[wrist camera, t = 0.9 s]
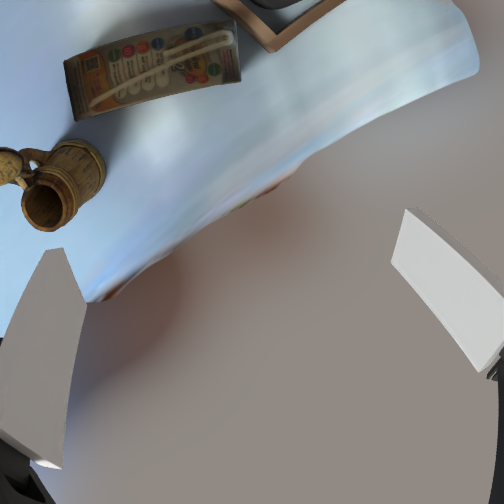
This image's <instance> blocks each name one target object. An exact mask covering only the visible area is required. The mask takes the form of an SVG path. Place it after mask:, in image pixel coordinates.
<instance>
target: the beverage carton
mask: <svg viewBox="0 0 504 504" xmlns="http://www.w3.org/2000/svg"><path fill="white" fill-rule="evenodd" d="M63 65H64V70H65V77H66V83H67V88H68V93H69V97H70V101H71V106H72V111H73V116H74V120H75V121H76V122H77V121H79V120H82V119H86V118H89V117H93V116H96V115H99V114H103V113H106V112H109V111H113V110H116V109H120V108H123V107H127V106H131V105H134V104H138V103H141V102H145V101H149V100H153V99H157V98H161V97H165V96H170V95H174V94H178V93H182V92H186V91H191V90H196V89H200V88H205V87H210V86H214V85H224V84H230V83H237V82H241V70H240V60H239V52H238V37H237V26H236V21H235V20H230V21H213V22H207V23H198V24H191V25H185V26H179V27H173V28H168V29H163V30H158V31H153V32H149V33H144V34H140V35H136V36H132V37H129V38H125V39H122V40H118V41H115V42H112V43H109V44H105V45H102V46H99V47H97V48H94V49H91V50H88V51H86V52H83V53H81V54H78V55H76V56H73V57H71V58H69V59H67V60H64V62H63Z"/></svg>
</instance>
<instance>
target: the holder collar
mask: <svg viewBox="0 0 504 504" xmlns="http://www.w3.org/2000/svg"><path fill="white" fill-rule="evenodd" d="M211 1H212V2H213V3H215V4H216V5H217V6H218V7H219V8H221V9H222V10H223V11H224V12H225V13H226V14H228V15H229V16H230V17H231V18H232V19H233V20H235V21H236V22H237V23H238V24H239V25H240V26H241V27H242V28H243V29H245V30H246V31H247V32H248V33H249V34H250V35H251V36H252V37H253V38H254V39H255V40H256V41H257V42H258V43H259V44H260V45H261V46H262V47H263V48H264V49H265V50H266V51H267V52H268V53H273V52H277V51H278V50H279V49H280V48H282V47H283V46H284V45H285V44H287V43H288V42H289V41H290V40H292V39H293V38H294V37H295V36H297V35H298V34H299V33H301V32H302V31H303V30H305V29H306V28H307V27H309V26H310V25H311V24H313V23H314V22H315V21H317V20H318V19H319V18H321V17H322V16H324V15H325V14H326V13H328V12H329V11H331V10H332V9H334V8H335V7H337V6H338V5H340V4H341V3H343V2H344V1H346V0H321V1H320V2H318V3H317V4H315V5H314V6H312V7H311V8H309V9H308V10H306V11H305V12H304V13H302V14H301V15H300V16H298V17H297V18H295V19H294V20H293V21H291V22H290V23H289V24H287V25H286V26H285V27H283V28H282V29H281V30H280V31H278V32H277V33H276V34H275V33H274V32H273V31H272V30H271V29H270V28H269V27H268V26H267V25H266V24H264V23H263V22H262V21H261V20H260V19H259V18H258V17H257V16H256V15H255V14H254V13H253V12H252V11H251V10H249V9H248V8H247V7H246V6H245V5H244V4H243V3H242V2H240V1H239V0H211Z"/></svg>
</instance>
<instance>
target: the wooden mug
mask: <svg viewBox="0 0 504 504" xmlns="http://www.w3.org/2000/svg"><path fill="white" fill-rule="evenodd" d="M30 161H31V162H34V163H35V164H36V165H37V166H38V168H35V169H34V170H32V169H31V167H30V164H29V162H30ZM105 176H106V166H105V163H104V160H103V158H102V157H101V155H100V153H99V152H98V151H97V150H96V149H95V148H94V147H93V146H92V145H90V144H89V143H88V142H86V141H82V140H79V139H73V140H67V141H63V142H60V143H58V144H57V145H55V146H54V147H53V149H52V150H51V151H49V152H48V151H42V150H38V149H33V148H25V149H21V150H19V151H16V150H14V149H11V148H7V147H0V186H2V185H5V184H7V183H11V184H16V185H18V186H21V187H22V189H23V190H24V193H23V196H22V199H21V207H22V212H23V214H24V216H25V218H26V219H27V221H28V222H29V223H30V224H31V225H32V226H33V227H34V228H35V229H37V230H40V231H45V232H54V231H56V230H57V229H59V228H60V227H62V226H65V225H66V224H67V223H68V222H69V221H70V220H72V218H73V217H74V216H75V215H76V213H77V211H78V209H79V208H80V207H81V206H82V205H83V204H84V203H86V202H87V201H89V200H90V199H92V198H93V197H94V196H95V195H96V194H97V193H98V192H99V191H100V189H101V187H102V185H103V184H104V180H105Z"/></svg>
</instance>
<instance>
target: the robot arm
mask: <svg viewBox="0 0 504 504" xmlns="http://www.w3.org/2000/svg"><path fill="white" fill-rule="evenodd" d="M391 264H392V265H393V266H394V267H395V268H396V269H397V270H398V271H399V273H400V274H401V275H402V276H403V277H404V278H405V279H406V280H407V281H408V283H409V284H410V285H411V286H412V287H413V289H415V291H416V292H417V293H418V295H419V296H420V297H421V298H422V299H423V300H424V302H425V303H426V304H427V305H428V307H429V308H430V309H431V310H432V311H433V313H434V314H435V315H436V316H437V318H438V319H439V320H440V321H441V323H442V324H443V325H444V326H445V328H446V329H447V330H448V332H449V333H450V334H451V336H452V337H453V338H454V340H455V341H456V342H457V343H458V345H459V346H460V348H461V349H462V350H463V352H464V353H465V354H466V356H467V357H468V359H469V360H470V361H471V363H472V364H473V366H474V367H475V369H476V370H477V371H478V372H480V371H482V370H483V369H484V368H486V367H487V366H489V365H490V364H491V362H492V361H493V360H494V358H495V357H496V356H497V355H498V354H499V355H500V356H501V358H500V359H499V360H498V361H497V363H496V364H495V365H494V366H493V367H492V369H491V370H490V371H489V372H488V374H487V379H489V378H490V377H491V376H492V375H493V374H494V373H495V372H497V373H496V374H495V375H494V376H493V377H492V380H494V381H498V393H499V394H498V395H499V418H498V419H499V420H498V440H497V452H496V453H497V454H496V462H495V470H494V477H493V483H492V489H491V494H490V499H489V504H504V283H503V281H501V279H500V278H498V276H497V275H495V273H493V272H492V271H491V270H490V269H489V268H488V267H487V266H486V265H485V264H484V263H483V262H482V261H481V260H480V259H479V258H478V257H476V256H475V255H474V254H473V253H472V252H471V251H470V250H469V249H468V248H467V247H465V246H464V245H463V244H462V243H461V242H460V241H458V240H457V239H456V238H455V237H454V236H453V235H451V234H450V233H449V232H448V231H447V230H445V229H444V228H443V227H442V226H441V225H439V224H438V223H437V222H436V221H434V220H433V219H432V218H431V217H429V216H428V215H427V214H425V213H424V212H423V211H422V210H420V209H419V208H408V209H405V213H404V217H403V221H402V225H401V229H400V232H399V236H398V239H397V243H396V247H395V250H394V253H393V257H392V260H391ZM86 308H87V305H86V302H85V300H84V298H83V296H82V294H81V291H80V289H79V287H78V284H77V282H76V280H75V277H74V275H73V272H72V270H71V267H70V265H69V262H68V260H67V257H66V254H65V252H64V249H63V248H57V249H51V250H46V251H45V252H44V254H43V256H42V258H41V260H40V261H39V263H38V265H37V267H36V269H35V271H34V272H33V274H32V276H31V278H30V280H29V282H28V284H27V286H26V288H25V290H24V292H23V294H22V296H21V299H20V301H19V303H18V305H17V307H16V309H15V312H14V314H13V316H12V319H11V321H10V323H9V326H8V328H7V331H6V333H5V336H4V338H0V504H56V503H55V502H54V500H53V499H52V497H51V496H50V494H49V493H48V491H47V490H46V489H45V487H44V485H43V484H42V482H41V480H40V479H39V477H38V475H37V474H36V472H35V471H34V470H33V468H32V467H31V466H29V465H30V459H31V460H33V461H35V462H36V463H38V464H39V465H41V466H46V467H51V468H58V469H63V449H64V435H65V423H66V414H67V405H68V397H69V391H70V385H71V378H72V372H73V367H74V361H75V356H76V351H77V346H78V341H79V337H80V332H81V328H82V324H83V320H84V316H85V312H86Z"/></svg>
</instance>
